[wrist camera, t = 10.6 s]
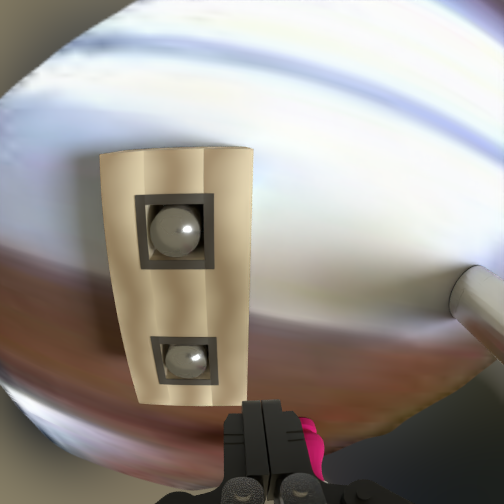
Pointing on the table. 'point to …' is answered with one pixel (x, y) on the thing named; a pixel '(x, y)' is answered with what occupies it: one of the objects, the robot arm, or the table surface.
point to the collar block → (181, 268)
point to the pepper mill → (313, 446)
